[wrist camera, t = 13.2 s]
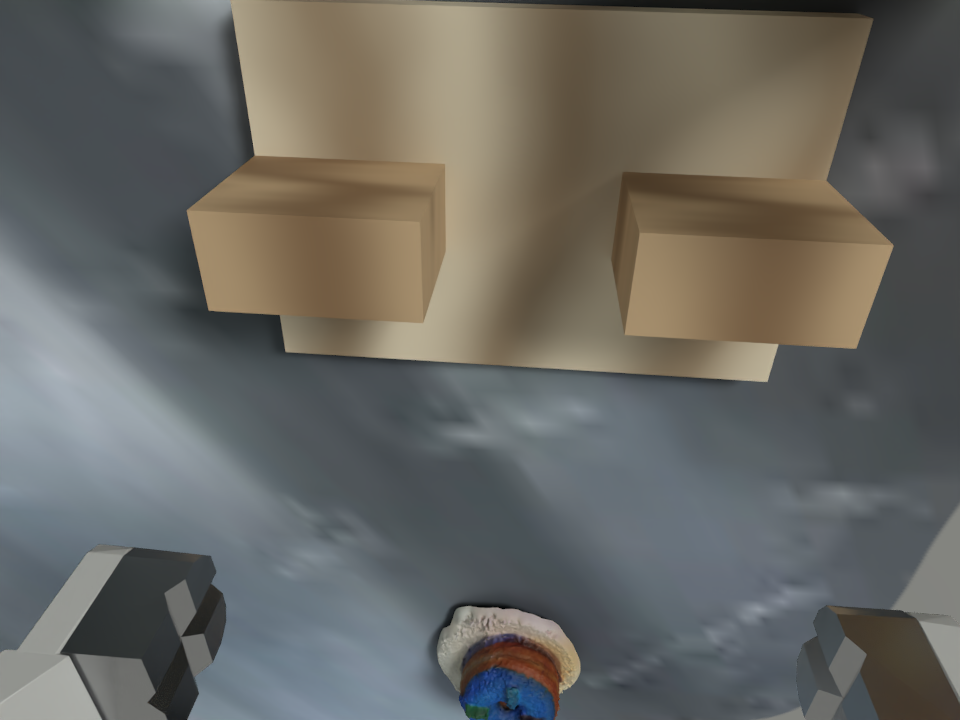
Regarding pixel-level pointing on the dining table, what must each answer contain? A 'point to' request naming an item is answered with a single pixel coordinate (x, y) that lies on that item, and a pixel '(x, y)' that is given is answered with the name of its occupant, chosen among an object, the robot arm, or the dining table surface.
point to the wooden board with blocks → (544, 185)
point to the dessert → (507, 663)
